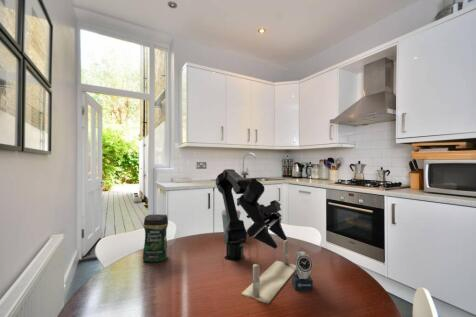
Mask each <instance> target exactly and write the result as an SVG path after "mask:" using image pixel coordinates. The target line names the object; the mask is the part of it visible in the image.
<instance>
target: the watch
mask: <svg viewBox="0 0 476 317" xmlns="http://www.w3.org/2000/svg"><path fill="white" fill-rule="evenodd" d="M294 260H295V265H296V270H295V271H296V273H293V274H292V275H291V284H292V286H293V289H294V290H295V291H313V290H314V286H313V283H314V282H313V279H312V277H311V276H310V274H311V271H312V269H313V266H314V262H313V261H312V260H311V258H310V257H309V255H308V254H307V253H306V252H305V251H296V253H295V259H294Z"/></svg>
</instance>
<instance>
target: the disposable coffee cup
mask: <svg viewBox="0 0 476 317" xmlns="http://www.w3.org/2000/svg"><path fill="white" fill-rule="evenodd" d="M236 211H237V215H238V219H239V220H240V217H241V214H242V213H241V211H240V210H239V209H236ZM220 214H221V218H222V228H223V229H222V230H223V235H224V234H225V232H226V227H227V224H228V219H227V215H226V210H225V208H224V209H222V210H221V213H220Z"/></svg>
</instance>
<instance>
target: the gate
mask: <svg viewBox="0 0 476 317" xmlns="http://www.w3.org/2000/svg"><path fill="white" fill-rule="evenodd" d="M289 246H290V241H289V240H288V239H286V240H285V241H284V240H283V261H280V260H275V262H273V263H272V264H271V265H270V266H269V267H268V268H267V269H266V270H265V271H263V272H262V274H261V275H260V270H261V269H260V268H261V267H260V265H259V264H257V263H254V264H253V265H252V283H251V284H250V285H249V286H247V287H246V289H244V290H243V291H242V292H241V295H242V296H245V297H248V298H250V299H253V300H256V301H260V302H262V303H264V304H270V303H271V302H272V301H273V299H274V298H275V297H276V295H277V294H278V293H279V292H280V291H281V289H282V288H283V287H284V286H285V285H286V283H287V282H288V280H289V279H290V278H292V274H295V272H296V271H297V270H296V264H293V263H290V247H289Z"/></svg>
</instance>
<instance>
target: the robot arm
mask: <svg viewBox="0 0 476 317" xmlns="http://www.w3.org/2000/svg"><path fill="white" fill-rule="evenodd" d="M215 186H216V187H217V191H218V192H219V193H220V194H221V195H222V199H223V205H224V209H225V210H226V215H227V219H228V224H227V227H226V232H225V234H224V233H223V243H224V244H225V245H226V247H225V248H226V249H225V250H226V253H225V254H226V255H225V256H224V259H227V260H232V261H236V262H238V261H240V260H241V259H242V258H244V256H245V254H244V252H245V251H244V246H243V244H246V243H247V242H246V241H247V236H248V237H249V238H250V239H253V240H256V241H259V242H261V243H263V244H265V245H268V246H269V247H270V248H273V249H277V248H278V245H277V243H276V242H275V240H274V238H273V237H272V235H271V234H270V232H269V231H271V232H272V233H273V234H275V235H276V236H277V237H278V238H280V239H281V240H282V241H283V242H284V241H285V240H288V239H287V236H286V233H285V232H284V229H283V227H282V224H281V223H282V222H281V221H282V215H281V213H280V212H281V211H282V208H281V203H280V202H279V201H277V200H276V199H274V200H271V201H270V202H269V205H266V206H265V205H264V204H262V203H261V204H260V202H258V201H259V200H260V198H261V197H262V195H264V192H265V191H266V190H265V185H263V183H262V182H260V181H259V180H257V177H256V178H254V177H253V178H249V177H243V176H241V175H240V174H239V173H237V172H236V170H235V169H232V168H231V169H229V168H227V169H226V168H225V169H224V170H223V171H222V172H221V173H219V174H218V175H217V177H216V178H215ZM232 190H233V191H232ZM233 192H234V194H236V195H240V197H238V198H236V203H235V198H234V196H233ZM236 206H237V207H239V206H240V207H241V208H242V209H243V210H244V212H245V213H246V214H247V215H246V219H251V221H252V222H253V223H252V224H251V225H250V226H249V227H248V228H247V229H246V227H245V222H244V220H243V219H240V218H239V219H238V215H237V211H236V210H237V207H236Z"/></svg>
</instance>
